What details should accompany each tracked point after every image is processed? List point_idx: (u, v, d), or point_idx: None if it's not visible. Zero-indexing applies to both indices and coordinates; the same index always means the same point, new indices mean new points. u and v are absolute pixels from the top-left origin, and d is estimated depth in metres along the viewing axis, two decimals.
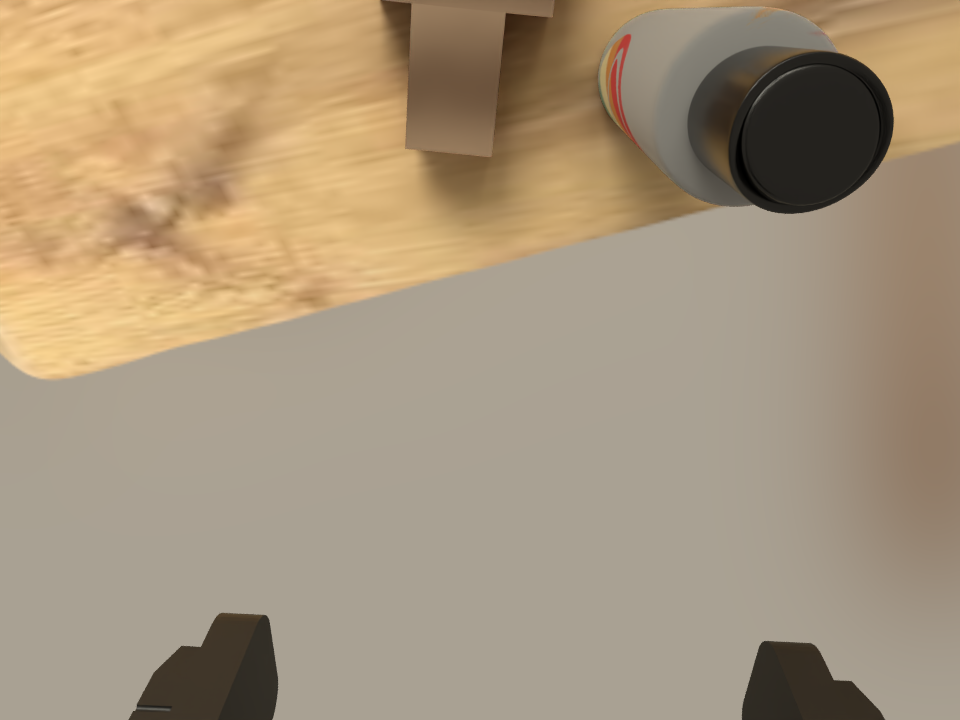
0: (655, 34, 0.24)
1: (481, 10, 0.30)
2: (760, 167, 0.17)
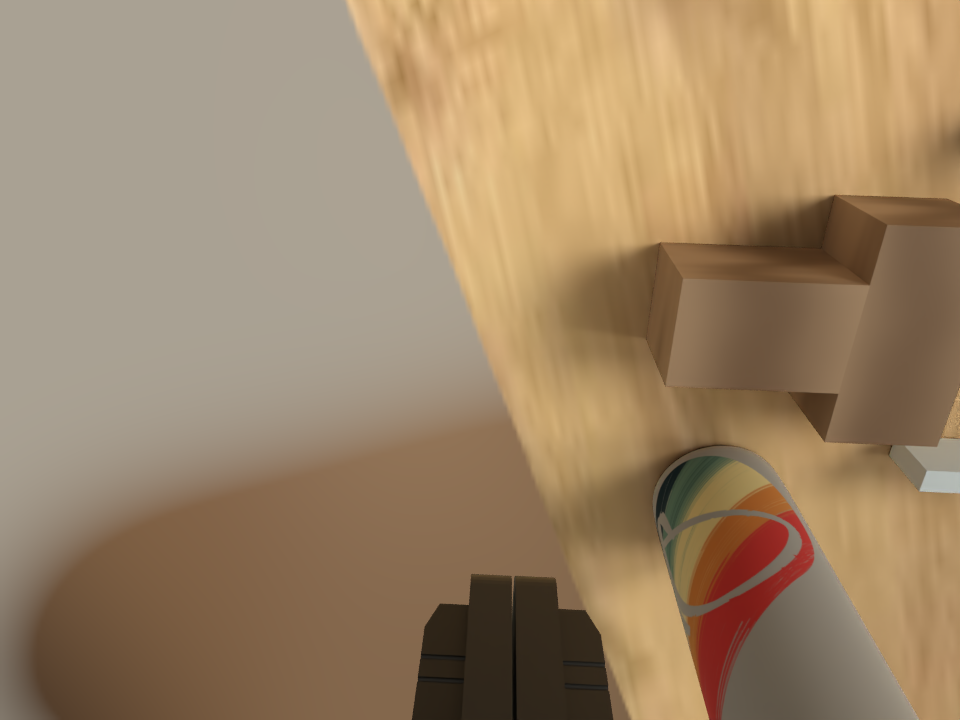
0: (869, 639, 0.21)
1: (846, 367, 0.24)
2: None
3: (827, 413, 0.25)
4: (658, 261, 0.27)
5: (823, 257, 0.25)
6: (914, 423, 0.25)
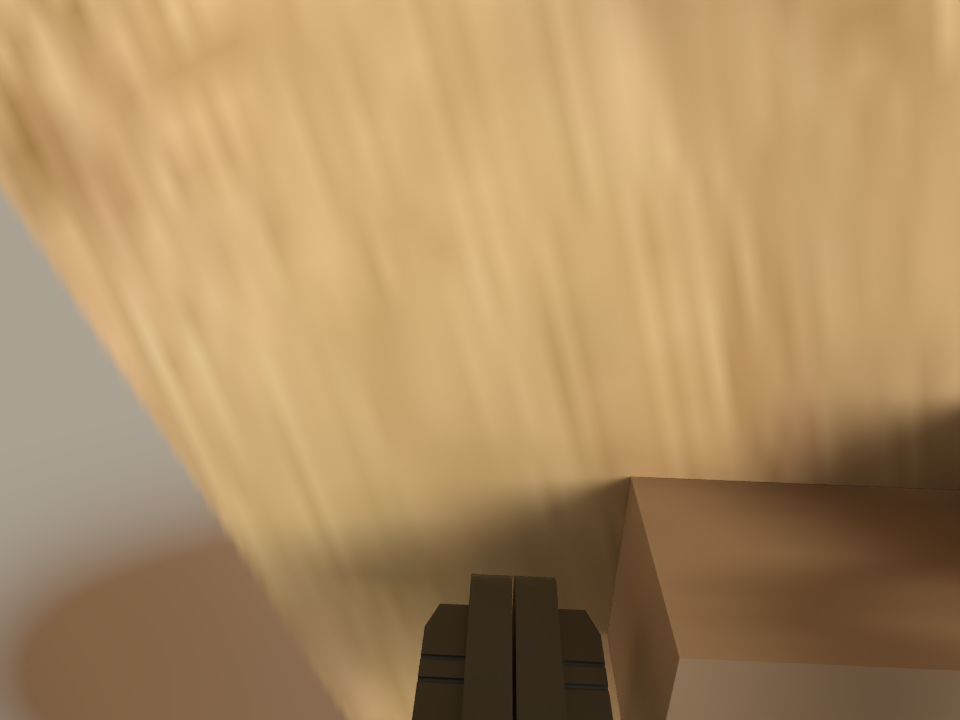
0: None
1: None
2: None
3: None
4: (628, 514, 0.13)
5: None
6: None
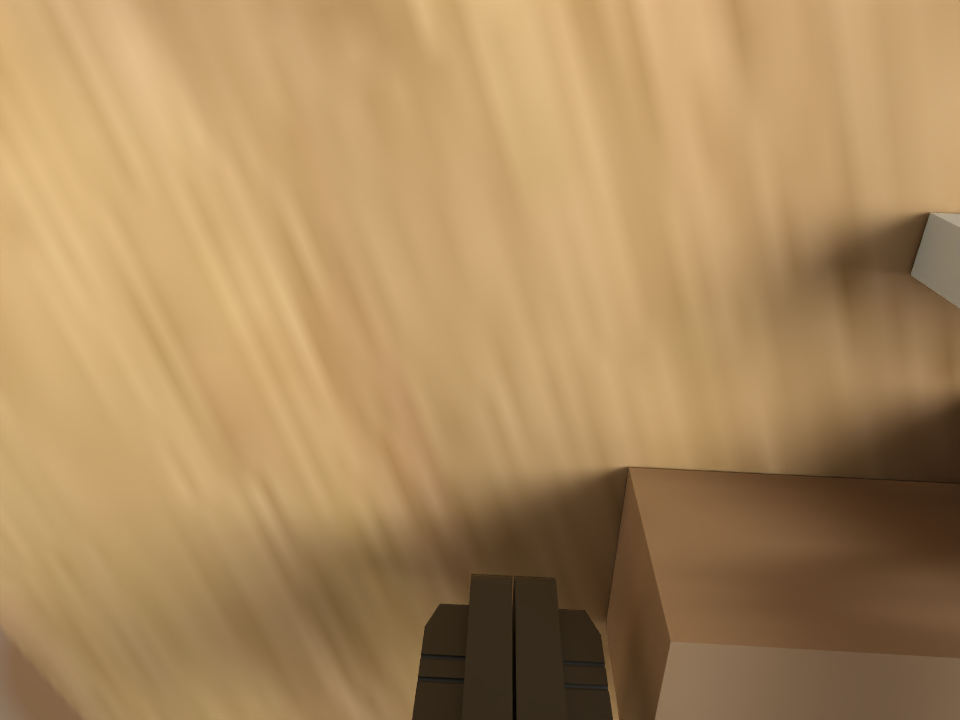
0: None
1: None
2: None
3: None
4: (625, 504, 0.13)
5: None
6: None
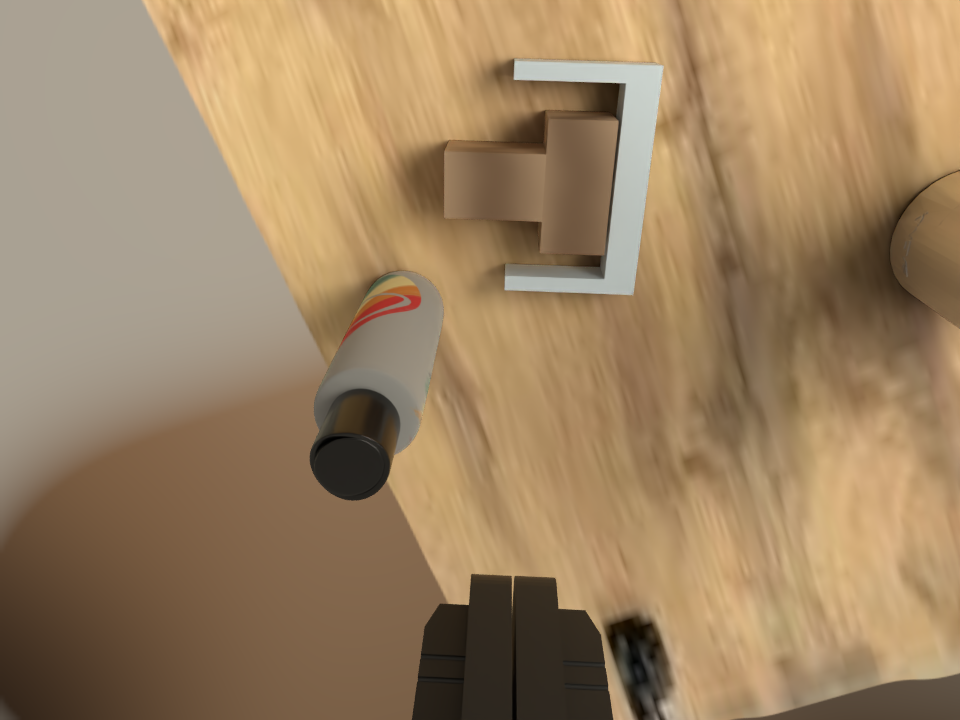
0: (412, 337, 0.40)
1: (542, 204, 0.42)
2: (330, 450, 0.32)
3: (540, 236, 0.44)
4: None
5: (538, 145, 0.44)
6: (588, 240, 0.43)
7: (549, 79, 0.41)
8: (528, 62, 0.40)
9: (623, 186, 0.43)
